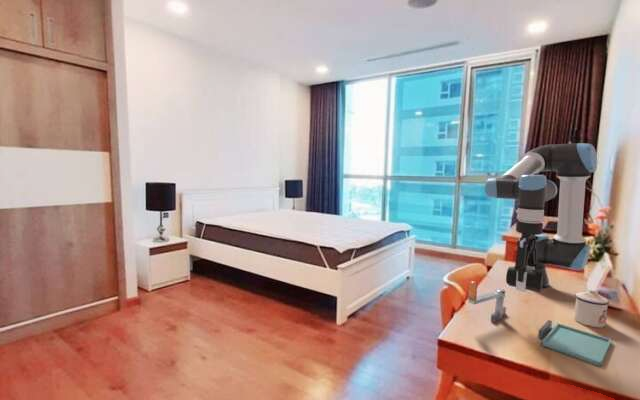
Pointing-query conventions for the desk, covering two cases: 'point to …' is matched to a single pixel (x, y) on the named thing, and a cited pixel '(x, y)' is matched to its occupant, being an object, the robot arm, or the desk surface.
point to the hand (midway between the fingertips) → (524, 287)
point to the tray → (577, 344)
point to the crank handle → (482, 298)
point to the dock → (502, 311)
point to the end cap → (532, 279)
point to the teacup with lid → (591, 309)
